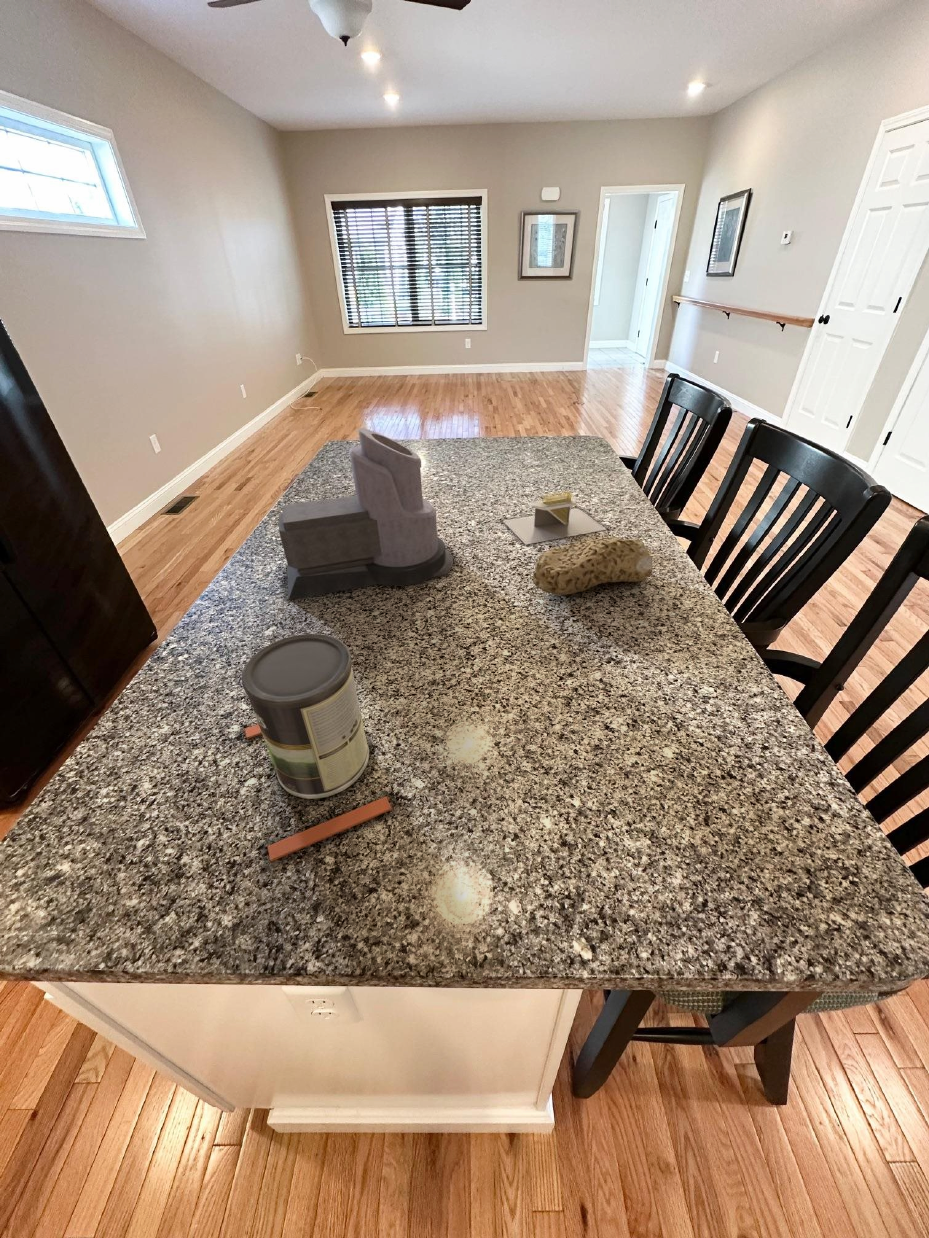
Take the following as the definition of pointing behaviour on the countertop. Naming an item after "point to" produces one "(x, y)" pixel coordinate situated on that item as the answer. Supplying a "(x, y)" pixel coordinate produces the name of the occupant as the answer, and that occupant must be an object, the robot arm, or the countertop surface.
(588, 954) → the countertop surface
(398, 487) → the machine
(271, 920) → the countertop surface
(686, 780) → the countertop surface
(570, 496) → the platform
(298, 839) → the strips
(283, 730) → the coffee can
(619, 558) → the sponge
